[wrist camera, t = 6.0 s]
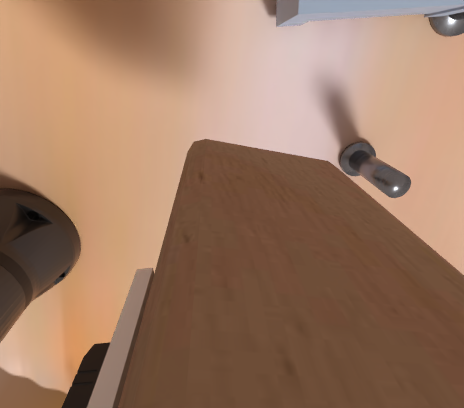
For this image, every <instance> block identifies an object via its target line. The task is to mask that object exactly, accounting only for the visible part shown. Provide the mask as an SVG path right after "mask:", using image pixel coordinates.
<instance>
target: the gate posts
mask: <svg viewBox="0 0 464 408" xmlns="http://www.w3.org/2000/svg"><path fill="white" fill-rule="evenodd" d="M429 21H430V24H431V26H432V28H433V29H434V31H435V32H436V33H438V34H439V35H442V36H455V35H460V34H462V33H464V12H461V13H456V14H451V15H446V16H437V17H429ZM340 166H341V168H342V170H343V171H344V172H345V173H346V174H348V175H351V176H359V175H361V176H362V177H364V178H365V179H366V180H368V181H369V182H370V183H372V184H373V185H374V186H376V187H377V188H378V189H379V190H381V191H382V192H383V193H385V194H386V195H387V196H389V197H391V198H397V197H400V196H402V195H404V194H405V193H406V192H407V191H408V190H409V188H410V185H411V180H410V178H409V177H408V176H407V175H405V174H403V173H402V172H400V171H398V170H397V169H395V168H393V167H391V166H390V165H388V164H386V163H385V162H383V161H381V160H379V159H378V158H376V153H375V150H374V148H373V147H372V146H371V145H369V144H367V143H365V142H356V143H353V144H351V145H349V146H348V147H347V148H346V149H345V150H344V151H343V153H342V155H341V157H340Z"/></svg>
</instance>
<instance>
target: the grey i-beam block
mask: <svg viewBox="0 0 464 408" xmlns="http://www.w3.org/2000/svg"><path fill="white" fill-rule="evenodd" d="M461 12H464V0H277V10H276V27H280V26H295V25H302V24H304V23H306V22H309V21H319V20H335V19H351V18H367V17H383V16H399V15H414V14H425V15H424V17H437V16H446V15H451V14H456V13H461Z"/></svg>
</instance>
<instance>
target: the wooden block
mask: <svg viewBox="0 0 464 408" xmlns="http://www.w3.org/2000/svg"><path fill="white" fill-rule="evenodd" d="M118 408H464V275H463V274H462V273H460V272H459V271H458V270H457V269H456V268H454V267H453V266H452V265H451V264H450V263H449V262H447V261H446V260H445V259H444V258H443V257H442V256H440V255H439V254H438V253H437V252H436V251H434V250H433V249H432V248H431V247H430V246H429V245H427V244H426V243H425V242H424V241H423V240H422V239H420V238H419V237H418V236H417V235H416V234H414V233H413V232H412V231H411V230H410V229H409V228H407V227H406V226H405V225H404V224H403V223H402V222H400V221H399V220H398V219H397V218H396V217H394V216H393V215H392V214H391V213H390V212H389V211H387V210H386V209H385V208H384V207H383V206H381V205H380V204H379V203H378V202H377V201H376V200H374V199H373V198H372V197H371V196H370V195H369V194H367V193H366V192H365V191H364V190H363V189H361V188H360V187H359V186H358V185H357V184H356V183H354V182H353V181H352V180H351V179H350V178H349V177H347V176H346V175H345V174H344V173H343V172H341V171H340V170H339V169H338V168H337V167H335V166H334V165H333V164H331V163H330V162H328V161H324V160H319V159H313V158H308V157H302V156H297V155H291V154H286V153H280V152H274V151H269V150H263V149H258V148H252V147H247V146H241V145H236V144H230V143H225V142H219V141H214V140H208V139H204V140H200V141H195V142H194V143H193V144H192V146H191V147H190V149H189V151H188V153H187V156H186V160H185V164H184V167H183V171H182V175H181V178H180V182H179V186H178V189H177V193H176V197H175V201H174V204H173V208H172V212H171V215H170V219H169V223H168V226H167V230H166V234H165V237H164V241H163V245H162V248H161V252H160V256H159V259H158V263H157V267H156V270H155V274H154V278H153V281H152V285H151V289H150V292H149V296H148V300H147V303H146V307H145V311H144V314H143V318H142V322H141V325H140V329H139V333H138V336H137V340H136V344H135V347H134V351H133V355H132V358H131V362H130V366H129V369H128V373H127V377H126V380H125V384H124V388H123V391H122V395H121V399H120V402H119V406H118Z"/></svg>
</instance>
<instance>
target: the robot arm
mask: <svg viewBox="0 0 464 408" xmlns="http://www.w3.org/2000/svg"><path fill="white" fill-rule="evenodd" d="M80 251H81V243H80V238H79V235H78V232H77V230H76V228H75V226H74V225H73V223H72V222H71V221H70V219H69V218H68V217H67V216H66V215H65V214H64V213H63V212H62V211H61V210H60V209H59V208H57V207H56V206H55V205H53V204H52V203H50V202H49V201H47V200H45V199H43V198H41V197H39V196H37V195H34V194H31V193H28V192H25V191H21V190H15V189H0V342H1V341H2V340H3V338H4V337H5V336H6V334H7V333H8V332H9V330H10V329H11V328H12V326H13V325H14V323H15V322H16V321H17V319H18V318H19V317H20V315H21V314H22V313H23V311H24V310H25V309H26V307H27V306H28V305H29V304H30V302H32V301H33V300H34V299H36V298H37V297H39V296H40V295H42V294H43V293H45V292H46V291H48V290H49V289H50V288H52V287H53V286H54V285H56V284H58V283H59V282H60V281H62V280H63V279H64V278H65V277H66V276H67V275H68V274H69V273H70V271H71V270H72V268H73V267H74V265H75V264H76V262H77V261H78V259H79V256H80ZM153 278H154V271H153V268H146V269H137V271H136V274H135V276H134V279H133V282H132V285H131V287H130V290H129V293H128V296H127V298H126V301H125V304H124V307H123V309H122V312H121V315H120V318H119V321H118V323H117V326H116V329H115V332H114V334H113V337H112V340H111V343H101V344H94V345H93V346H92V348H91V349H90V350H89V351H88V353H87V354H86V355H85V356H84V358H83V360H82V362H81V365H80V367H79V369H78V371H77V372H78V373H77V374H76V376H75V378H74V381H73V383H72V387H70V390H69V392H68V394H67V397H66V399H65V401H64V404H63V406H62V408H118V406H119V402H120V399H121V395H122V391H123V388H124V384H125V380H126V377H127V373H128V369H129V366H130V362H131V358H132V355H133V351H134V347H135V344H136V340H137V336H138V333H139V329H140V325H141V322H142V318H143V314H144V311H145V307H146V303H147V300H148V296H149V292H150V289H151V285H152V281H153Z"/></svg>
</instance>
